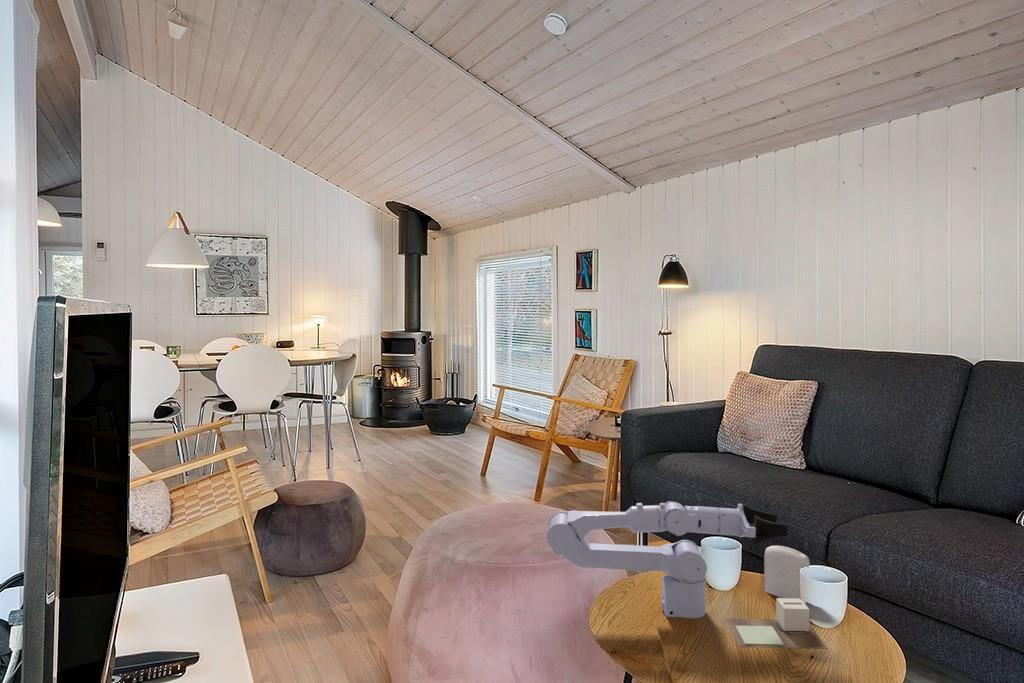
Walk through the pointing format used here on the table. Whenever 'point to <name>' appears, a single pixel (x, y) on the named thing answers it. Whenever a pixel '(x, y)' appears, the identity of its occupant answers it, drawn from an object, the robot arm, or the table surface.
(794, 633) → the post
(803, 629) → the slotted tissue box
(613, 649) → the table surface
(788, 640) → the board
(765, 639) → the mat
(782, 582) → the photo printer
